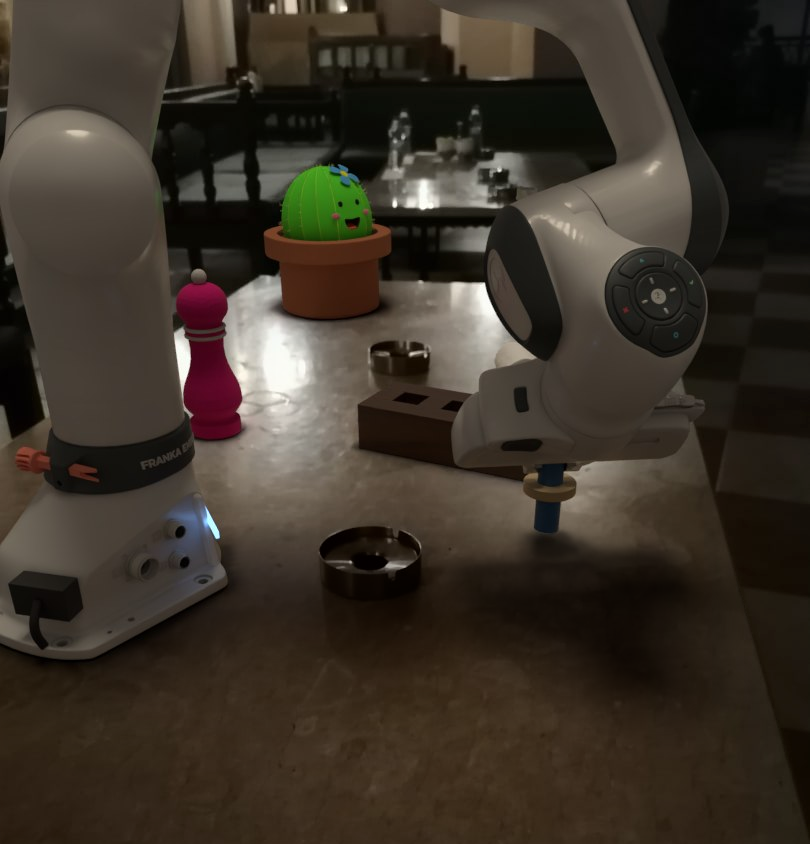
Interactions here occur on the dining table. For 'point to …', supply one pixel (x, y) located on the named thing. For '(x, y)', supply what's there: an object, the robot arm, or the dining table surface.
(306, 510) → the dining table surface
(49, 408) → the robot arm
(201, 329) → the pepper mill
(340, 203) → the potted cactus
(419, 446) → the stand
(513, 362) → the roll
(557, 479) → the peg
